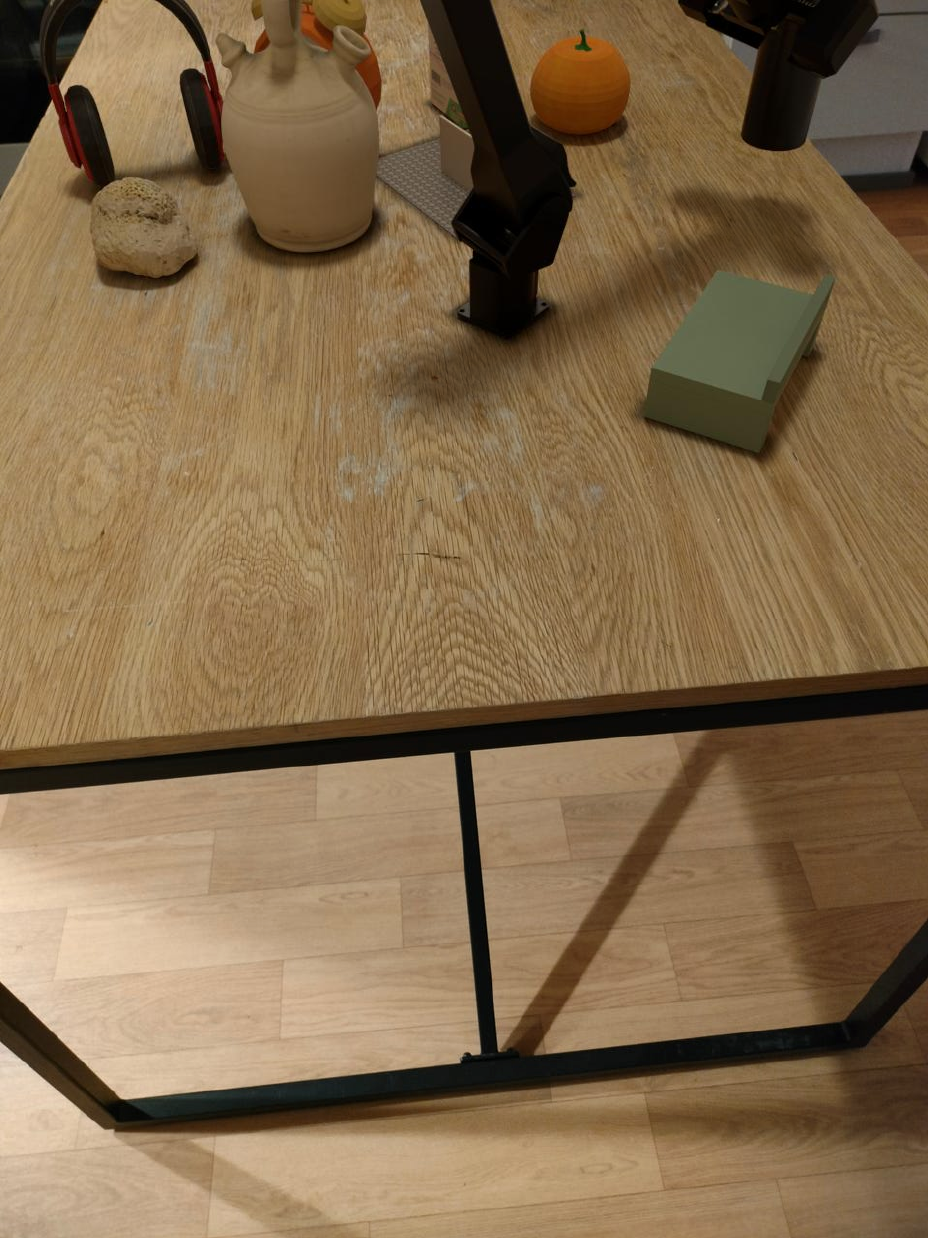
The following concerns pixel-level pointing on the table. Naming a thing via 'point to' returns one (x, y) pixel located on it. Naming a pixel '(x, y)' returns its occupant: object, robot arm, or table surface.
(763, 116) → the canister
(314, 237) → the jug
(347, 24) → the alarm clock
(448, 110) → the ink box
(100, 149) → the headphones
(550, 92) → the fruit
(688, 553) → the table surface
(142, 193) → the decorative item
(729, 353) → the olive lipped block
